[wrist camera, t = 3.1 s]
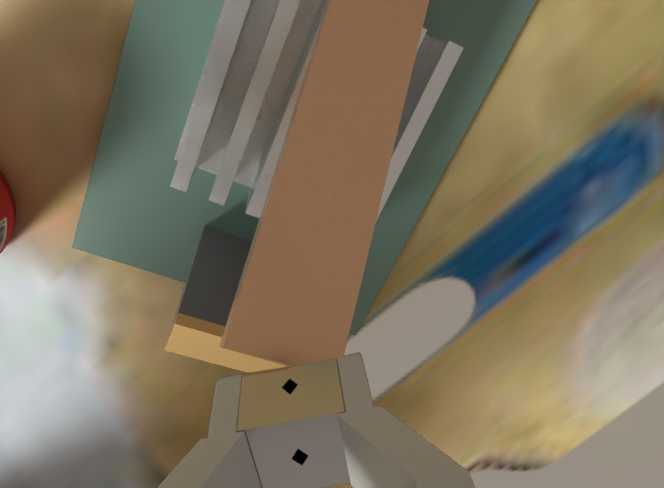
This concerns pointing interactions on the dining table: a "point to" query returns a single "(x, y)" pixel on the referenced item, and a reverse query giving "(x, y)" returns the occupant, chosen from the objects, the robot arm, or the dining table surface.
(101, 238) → the board
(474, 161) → the dining table surface
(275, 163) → the heatsink
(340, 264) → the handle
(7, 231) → the canned food
